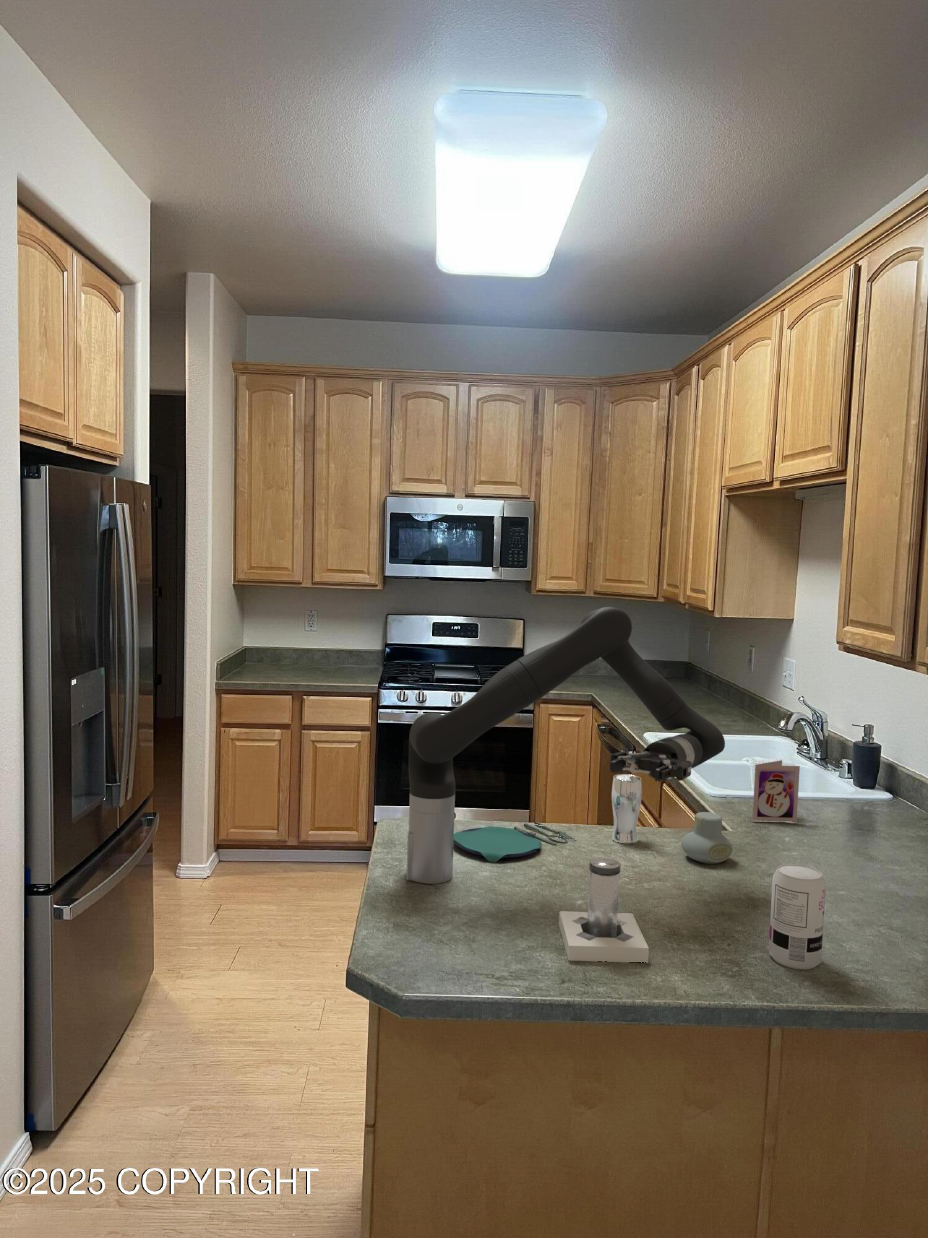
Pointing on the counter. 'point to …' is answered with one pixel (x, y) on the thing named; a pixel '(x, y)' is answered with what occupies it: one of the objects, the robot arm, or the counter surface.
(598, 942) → the mount plate
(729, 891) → the counter surface
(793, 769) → the greeting card
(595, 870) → the grey cylindrical piece
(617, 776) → the beer glass
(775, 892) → the supplement can
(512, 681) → the robot arm
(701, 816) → the air freshener
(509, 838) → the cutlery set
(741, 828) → the counter surface
